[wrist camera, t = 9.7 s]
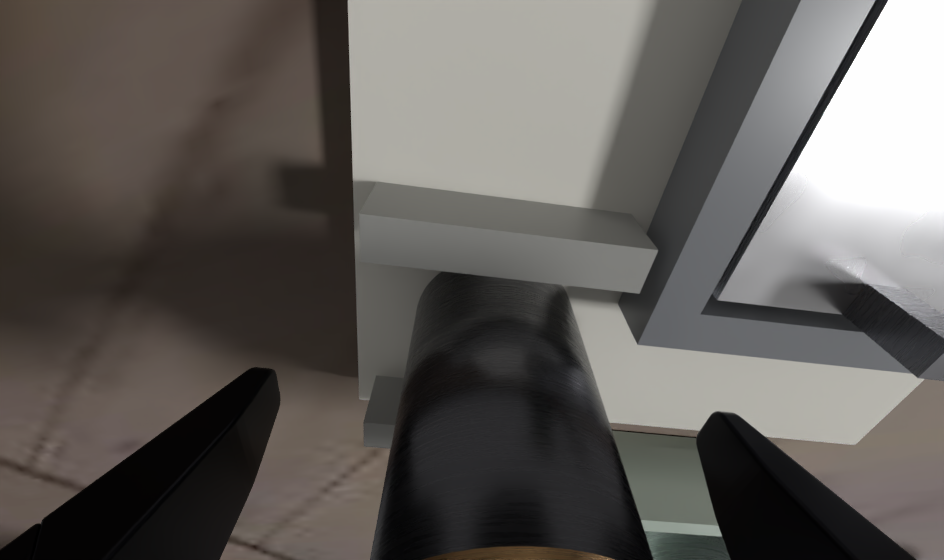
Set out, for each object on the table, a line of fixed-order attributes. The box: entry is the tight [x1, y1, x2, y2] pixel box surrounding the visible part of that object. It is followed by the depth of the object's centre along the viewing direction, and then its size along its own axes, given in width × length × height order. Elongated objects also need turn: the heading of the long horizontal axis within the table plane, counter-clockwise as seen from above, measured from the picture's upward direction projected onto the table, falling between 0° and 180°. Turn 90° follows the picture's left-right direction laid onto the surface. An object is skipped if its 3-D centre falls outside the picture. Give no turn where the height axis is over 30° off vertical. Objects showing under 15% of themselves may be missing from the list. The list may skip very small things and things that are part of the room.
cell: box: [370, 271, 654, 560], centre depth 8 cm, size 4×4×7 cm
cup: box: [612, 431, 777, 541], centre depth 15 cm, size 7×7×3 cm
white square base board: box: [348, 0, 924, 449], centre depth 8 cm, size 16×16×3 cm
